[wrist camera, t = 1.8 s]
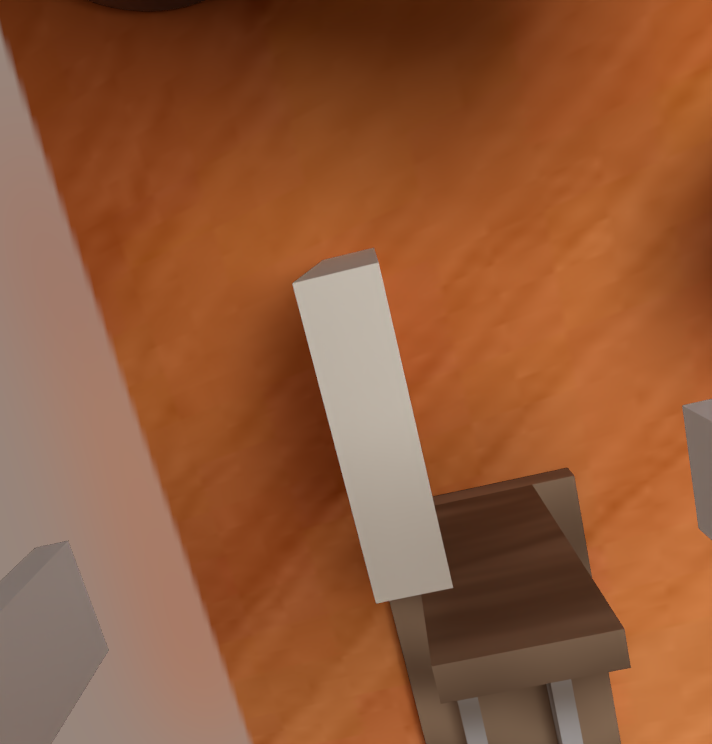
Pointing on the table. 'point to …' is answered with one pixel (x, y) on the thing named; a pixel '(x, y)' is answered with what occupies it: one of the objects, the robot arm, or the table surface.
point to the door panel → (373, 424)
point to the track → (513, 623)
